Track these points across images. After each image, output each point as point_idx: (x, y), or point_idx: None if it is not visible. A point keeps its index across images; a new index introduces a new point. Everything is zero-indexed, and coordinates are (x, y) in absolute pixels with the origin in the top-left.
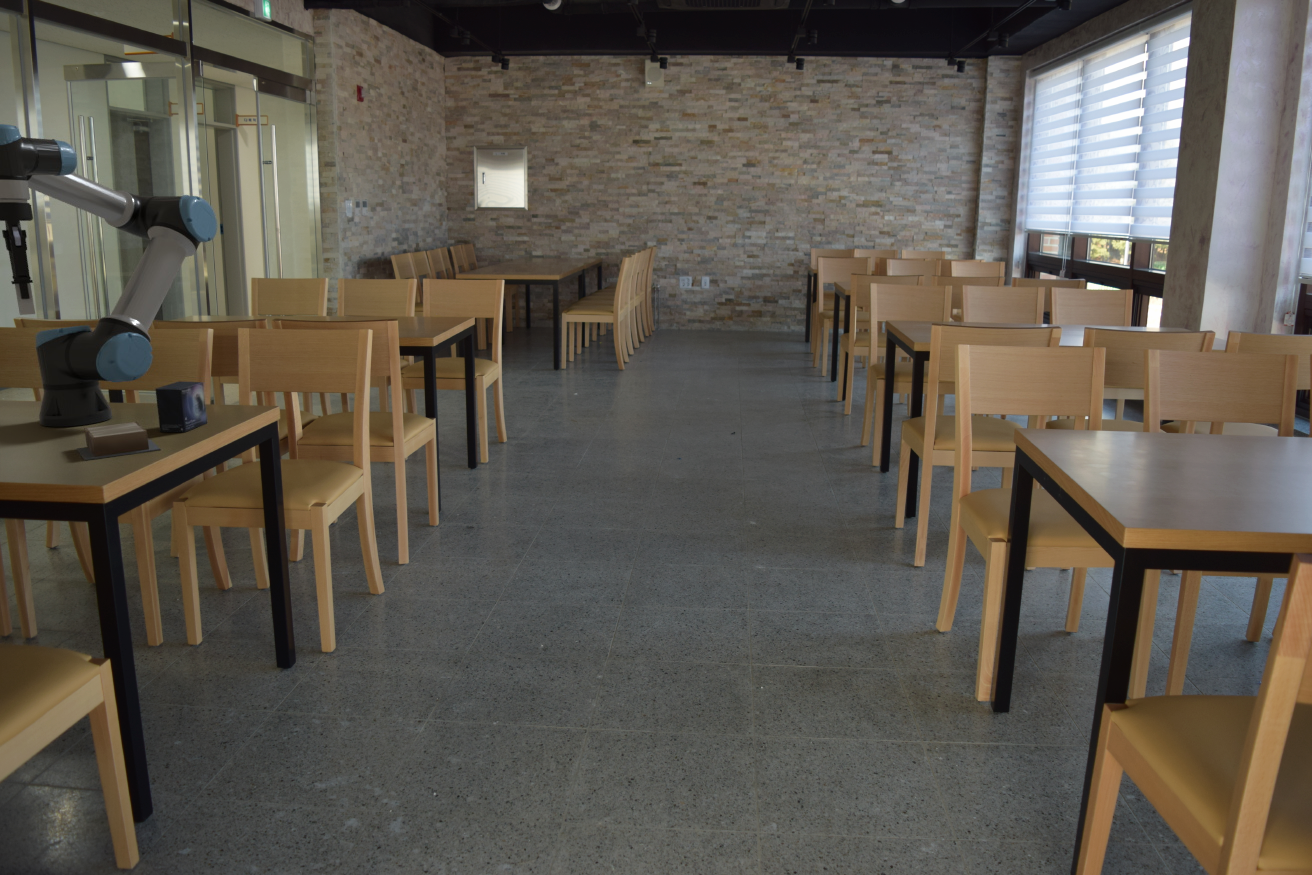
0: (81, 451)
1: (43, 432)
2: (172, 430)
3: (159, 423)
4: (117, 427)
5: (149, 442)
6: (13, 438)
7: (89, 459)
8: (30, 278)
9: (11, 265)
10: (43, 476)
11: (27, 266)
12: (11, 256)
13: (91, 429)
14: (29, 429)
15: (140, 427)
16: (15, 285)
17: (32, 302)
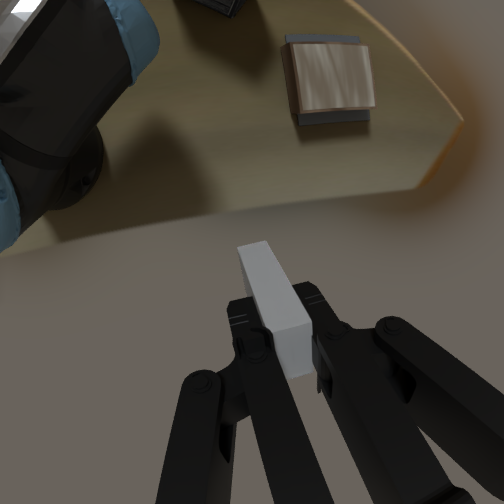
0: (323, 120)
1: (131, 187)
2: (244, 2)
3: (234, 13)
4: (325, 70)
5: (312, 38)
6: (160, 220)
7: (368, 114)
8: (397, 321)
9: (229, 485)
10: (411, 162)
11: (462, 366)
12: (374, 501)
13: (320, 104)
14: (98, 212)
15: (342, 44)
16: (311, 367)
17: (279, 267)
